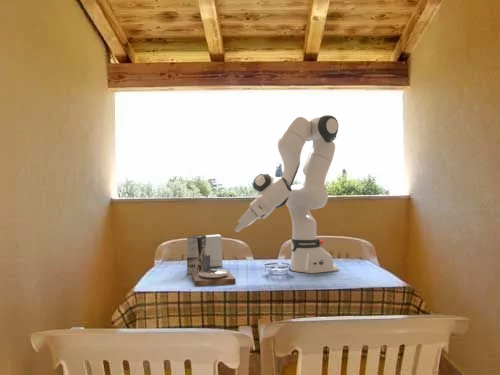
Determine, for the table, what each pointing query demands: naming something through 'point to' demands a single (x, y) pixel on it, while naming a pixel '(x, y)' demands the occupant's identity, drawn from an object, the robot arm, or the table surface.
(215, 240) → the skincare box
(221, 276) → the dial
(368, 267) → the table surface
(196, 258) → the coffee box
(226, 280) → the dial board
